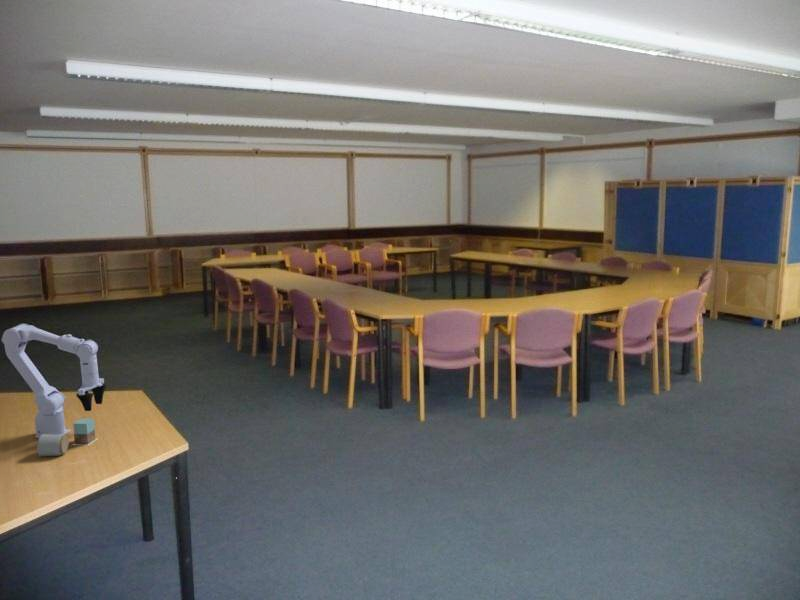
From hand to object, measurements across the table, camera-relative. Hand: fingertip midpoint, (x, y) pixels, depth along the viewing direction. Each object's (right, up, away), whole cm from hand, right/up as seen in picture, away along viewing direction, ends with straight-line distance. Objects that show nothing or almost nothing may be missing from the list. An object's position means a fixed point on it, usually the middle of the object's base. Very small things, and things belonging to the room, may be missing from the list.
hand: (93, 407), depth 242 cm
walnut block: (0, -12, -7) cm, 14 cm away
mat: (-1, -12, -7) cm, 14 cm away
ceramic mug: (-6, -14, -16) cm, 22 cm away
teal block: (0, -8, -8) cm, 11 cm away
